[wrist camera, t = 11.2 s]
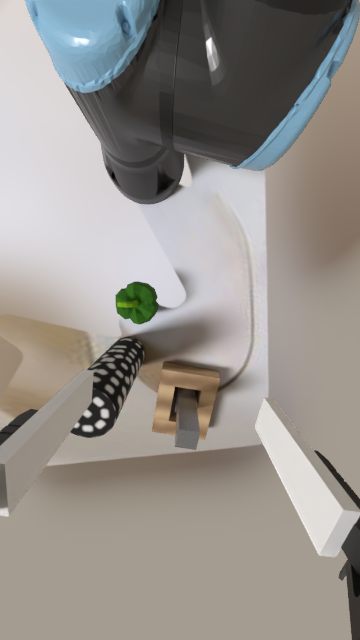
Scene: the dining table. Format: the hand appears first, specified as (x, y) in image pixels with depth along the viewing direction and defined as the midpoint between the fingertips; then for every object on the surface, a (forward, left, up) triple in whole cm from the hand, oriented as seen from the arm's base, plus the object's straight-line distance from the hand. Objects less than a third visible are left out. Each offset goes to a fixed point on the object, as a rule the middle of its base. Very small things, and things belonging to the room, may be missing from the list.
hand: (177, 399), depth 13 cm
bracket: (+21, +5, -29) cm, 36 cm away
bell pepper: (-3, -9, -29) cm, 30 cm away
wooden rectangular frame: (+21, +5, -29) cm, 36 cm away
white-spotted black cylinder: (+11, -11, -29) cm, 33 cm away
